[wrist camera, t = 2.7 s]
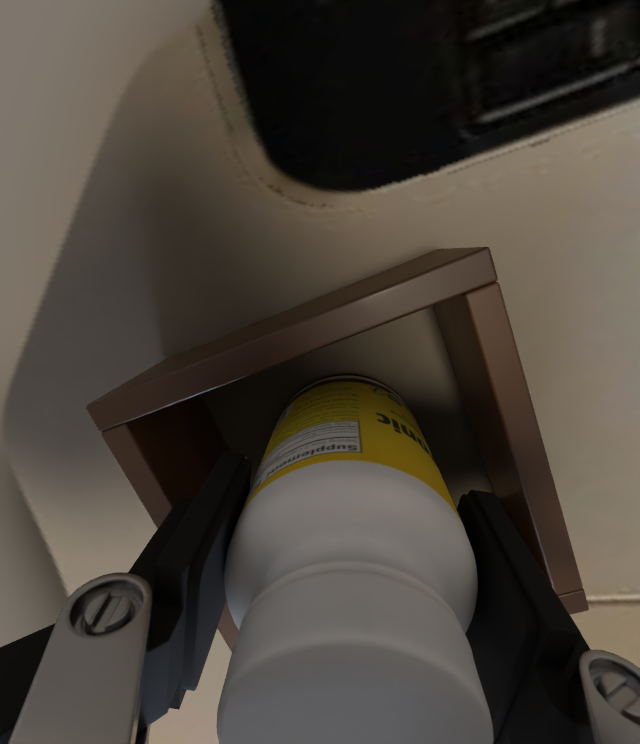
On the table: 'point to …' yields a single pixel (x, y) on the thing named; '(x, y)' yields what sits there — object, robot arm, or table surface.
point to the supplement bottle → (350, 584)
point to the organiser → (330, 325)
